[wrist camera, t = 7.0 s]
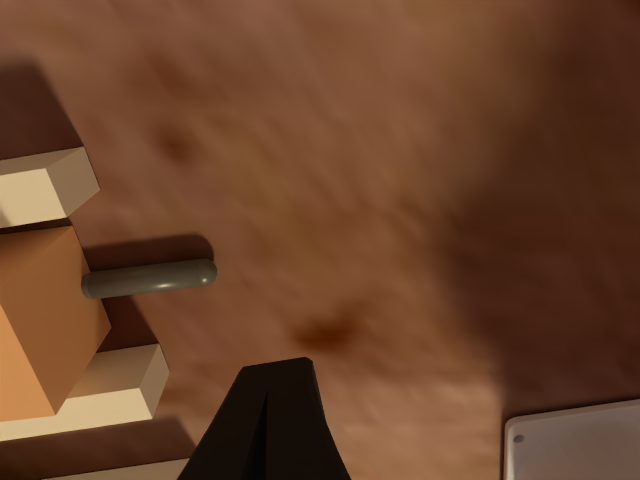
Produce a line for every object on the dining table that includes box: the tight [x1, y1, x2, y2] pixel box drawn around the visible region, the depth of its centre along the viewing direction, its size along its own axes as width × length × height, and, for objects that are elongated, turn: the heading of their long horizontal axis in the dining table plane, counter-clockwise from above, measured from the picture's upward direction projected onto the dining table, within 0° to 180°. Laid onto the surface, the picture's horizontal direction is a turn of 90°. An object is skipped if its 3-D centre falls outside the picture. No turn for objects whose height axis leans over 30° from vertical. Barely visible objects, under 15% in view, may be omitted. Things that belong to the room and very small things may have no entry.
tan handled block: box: [0, 226, 217, 422], centre depth 15 cm, size 4×9×4 cm, turn 97°
